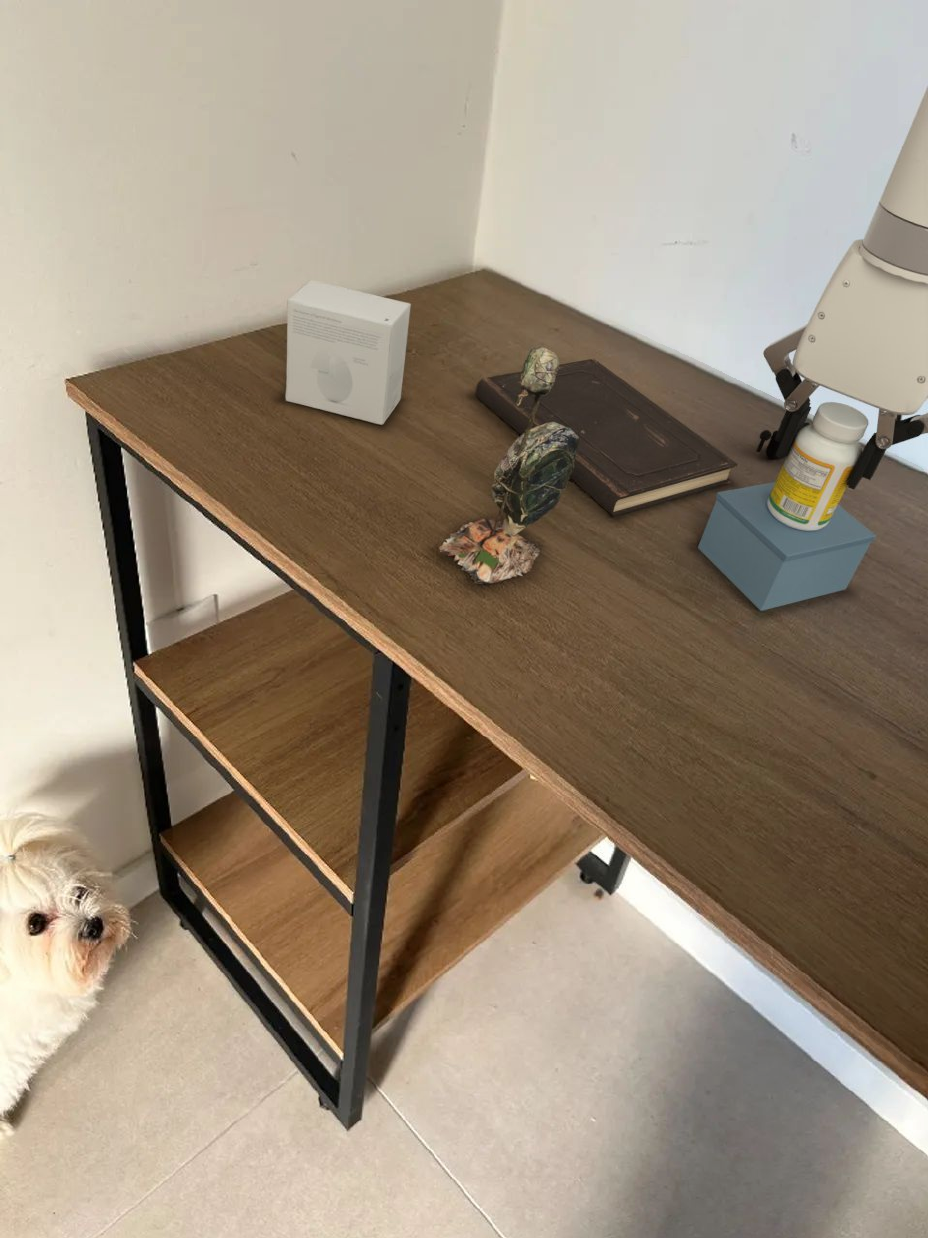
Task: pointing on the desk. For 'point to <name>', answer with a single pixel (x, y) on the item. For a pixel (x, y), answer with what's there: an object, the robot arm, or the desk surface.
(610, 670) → the desk surface
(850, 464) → the supplement bottle
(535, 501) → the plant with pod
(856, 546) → the blue box
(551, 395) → the hardcover book
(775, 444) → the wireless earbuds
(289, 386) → the cosmetics box
